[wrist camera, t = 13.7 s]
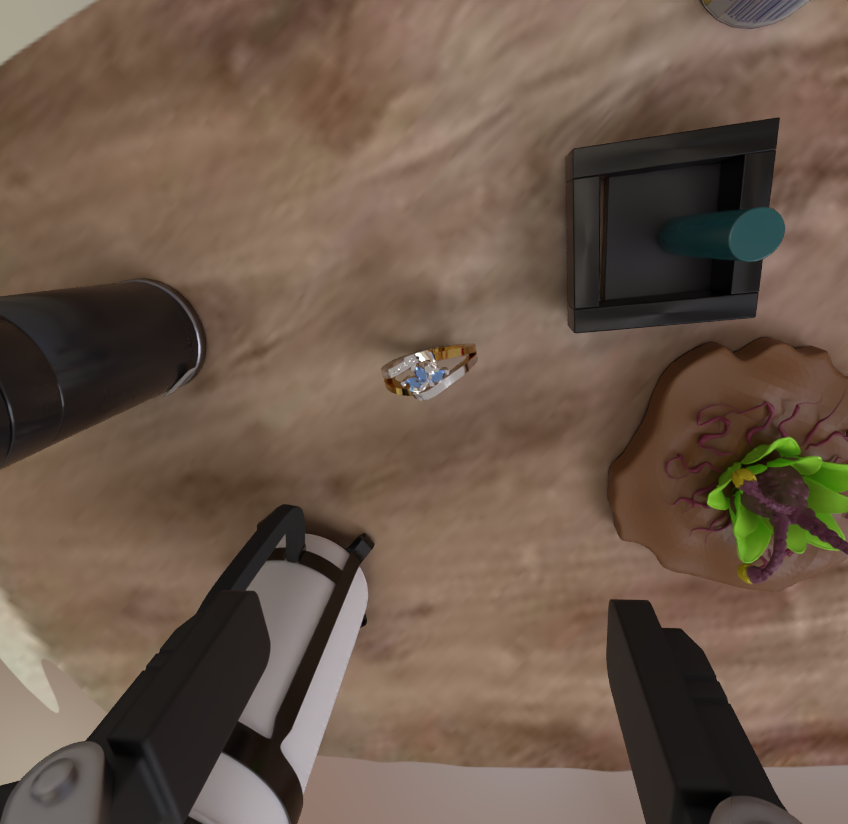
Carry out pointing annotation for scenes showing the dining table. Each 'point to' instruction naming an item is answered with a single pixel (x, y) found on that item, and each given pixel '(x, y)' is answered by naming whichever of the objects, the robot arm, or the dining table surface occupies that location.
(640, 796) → the robot arm
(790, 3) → the canned food
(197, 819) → the coffee press
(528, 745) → the dining table surface
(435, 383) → the ring
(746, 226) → the post stand
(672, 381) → the plant
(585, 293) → the loop
